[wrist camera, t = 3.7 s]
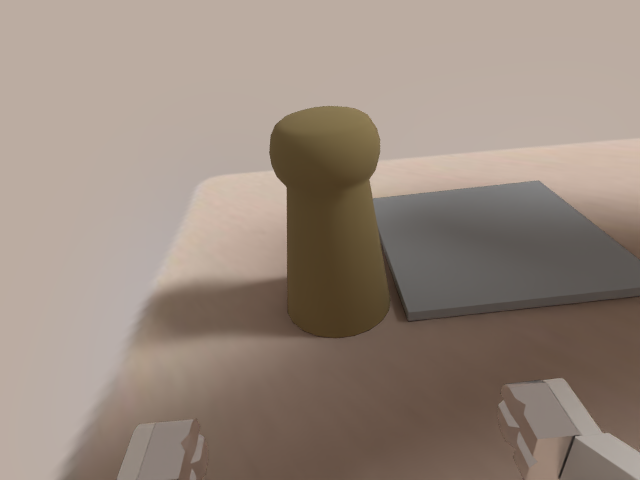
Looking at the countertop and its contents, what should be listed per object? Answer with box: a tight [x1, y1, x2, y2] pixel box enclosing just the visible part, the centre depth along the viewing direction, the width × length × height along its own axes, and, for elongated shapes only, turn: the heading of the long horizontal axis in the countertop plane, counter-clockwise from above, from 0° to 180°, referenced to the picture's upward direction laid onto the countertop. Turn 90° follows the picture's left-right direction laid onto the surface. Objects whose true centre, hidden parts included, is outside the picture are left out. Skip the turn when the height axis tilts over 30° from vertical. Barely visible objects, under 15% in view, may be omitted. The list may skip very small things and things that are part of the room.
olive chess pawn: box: [269, 106, 390, 338], centre depth 22 cm, size 6×6×11 cm
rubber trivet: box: [373, 181, 640, 321], centre depth 29 cm, size 14×14×1 cm
